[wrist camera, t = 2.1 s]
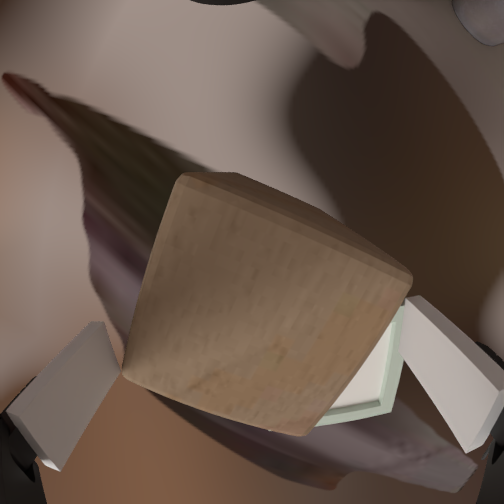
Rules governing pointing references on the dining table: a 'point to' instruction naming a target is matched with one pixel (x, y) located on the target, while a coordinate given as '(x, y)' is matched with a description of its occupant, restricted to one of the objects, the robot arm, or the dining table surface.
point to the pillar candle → (482, 19)
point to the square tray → (372, 380)
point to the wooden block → (257, 304)
